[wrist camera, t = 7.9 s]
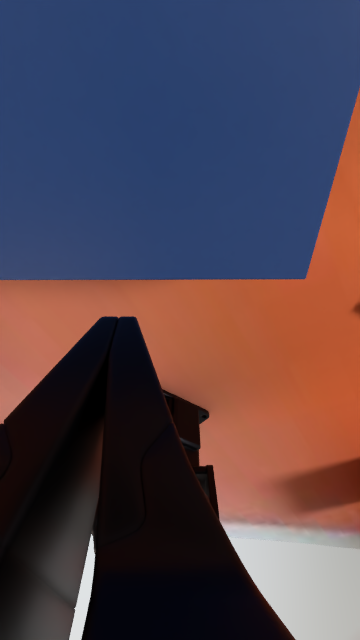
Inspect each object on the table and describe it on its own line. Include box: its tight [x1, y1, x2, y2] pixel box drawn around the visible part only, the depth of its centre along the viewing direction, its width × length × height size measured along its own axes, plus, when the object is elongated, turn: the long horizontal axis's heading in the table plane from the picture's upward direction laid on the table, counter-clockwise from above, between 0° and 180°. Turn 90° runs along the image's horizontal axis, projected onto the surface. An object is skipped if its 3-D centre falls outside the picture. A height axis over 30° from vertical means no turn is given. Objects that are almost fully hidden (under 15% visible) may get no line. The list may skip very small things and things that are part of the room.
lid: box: [0, 0, 360, 280], centre depth 12 cm, size 12×15×1 cm
